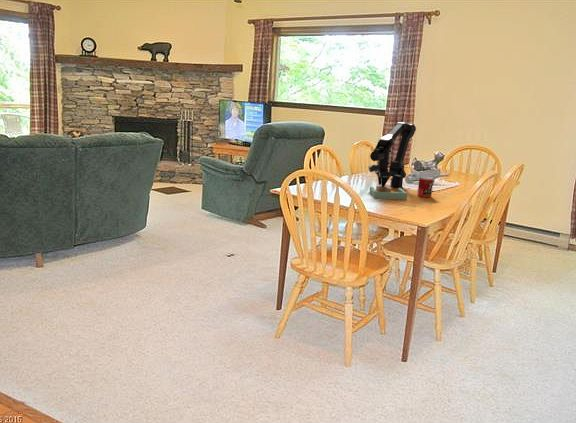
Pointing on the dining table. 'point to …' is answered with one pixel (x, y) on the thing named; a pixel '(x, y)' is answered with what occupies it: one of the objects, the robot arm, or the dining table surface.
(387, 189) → the tan wooden block
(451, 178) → the dining table surface
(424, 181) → the canned food
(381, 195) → the box
